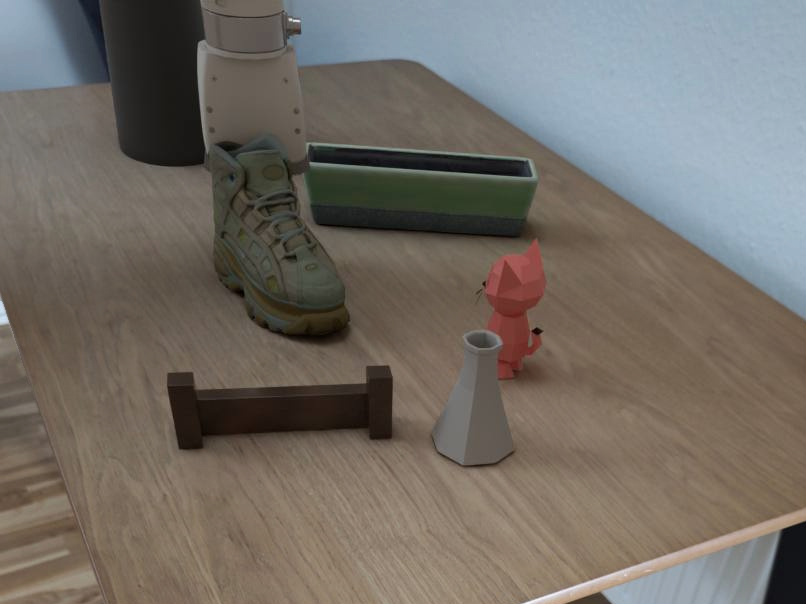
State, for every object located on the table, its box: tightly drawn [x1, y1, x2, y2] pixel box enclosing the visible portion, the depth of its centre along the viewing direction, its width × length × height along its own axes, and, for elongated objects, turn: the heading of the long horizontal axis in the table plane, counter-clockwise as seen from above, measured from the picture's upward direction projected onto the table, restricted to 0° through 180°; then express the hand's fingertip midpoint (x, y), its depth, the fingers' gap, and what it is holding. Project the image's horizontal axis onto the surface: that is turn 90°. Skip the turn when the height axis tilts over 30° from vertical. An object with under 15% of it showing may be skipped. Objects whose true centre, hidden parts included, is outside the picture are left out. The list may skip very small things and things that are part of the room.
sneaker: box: [207, 132, 351, 336], centre depth 88 cm, size 11×19×15 cm, turn 27°
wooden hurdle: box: [166, 364, 394, 450], centre depth 75 cm, size 18×3×6 cm, turn 102°
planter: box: [301, 141, 539, 237], centre depth 107 cm, size 28×7×7 cm, turn 94°
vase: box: [98, 0, 206, 167], centre depth 108 cm, size 14×14×29 cm
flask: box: [430, 329, 516, 466], centre depth 75 cm, size 7×7×10 cm
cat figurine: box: [474, 237, 547, 380], centre depth 83 cm, size 7×7×12 cm
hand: (263, 228), depth 97 cm, fingers closed
